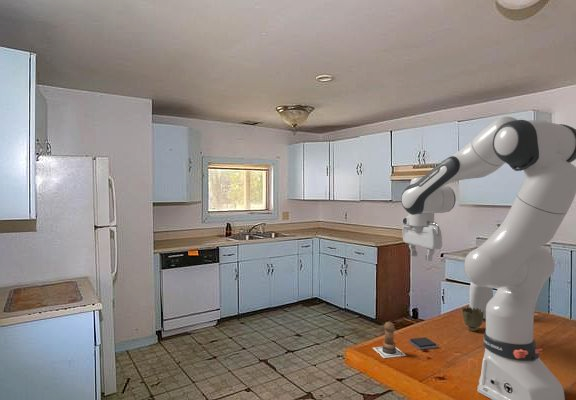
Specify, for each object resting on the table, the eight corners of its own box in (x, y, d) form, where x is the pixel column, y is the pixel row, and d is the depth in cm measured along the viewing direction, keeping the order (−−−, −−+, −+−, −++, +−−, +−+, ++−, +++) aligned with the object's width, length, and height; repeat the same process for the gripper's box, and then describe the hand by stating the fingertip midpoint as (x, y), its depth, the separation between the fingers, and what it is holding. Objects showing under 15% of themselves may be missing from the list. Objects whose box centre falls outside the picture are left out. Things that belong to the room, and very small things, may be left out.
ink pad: (438, 347, 128) (438, 344, 128) (419, 349, 126) (419, 346, 126) (426, 339, 135) (426, 336, 135) (408, 341, 133) (408, 338, 133)
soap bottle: (482, 324, 151) (482, 257, 150) (463, 318, 157) (464, 254, 157) (501, 317, 158) (502, 254, 158) (483, 312, 165) (483, 251, 165)
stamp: (398, 353, 123) (398, 323, 123) (386, 354, 122) (386, 324, 122) (391, 348, 128) (391, 319, 127) (380, 349, 127) (380, 320, 126)
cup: (487, 333, 140) (487, 312, 140) (467, 333, 140) (467, 312, 140) (477, 326, 148) (477, 306, 147) (459, 326, 148) (459, 306, 148)
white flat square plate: (406, 355, 122) (406, 354, 122) (383, 358, 120) (383, 357, 120) (393, 345, 130) (393, 345, 130) (372, 348, 128) (372, 347, 128)
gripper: (447, 222, 128) (446, 263, 128) (413, 218, 148) (413, 253, 148) (430, 223, 126) (430, 263, 126) (399, 219, 146) (399, 254, 146)
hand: (421, 258), depth 137 cm, fingers open, 8 cm apart
